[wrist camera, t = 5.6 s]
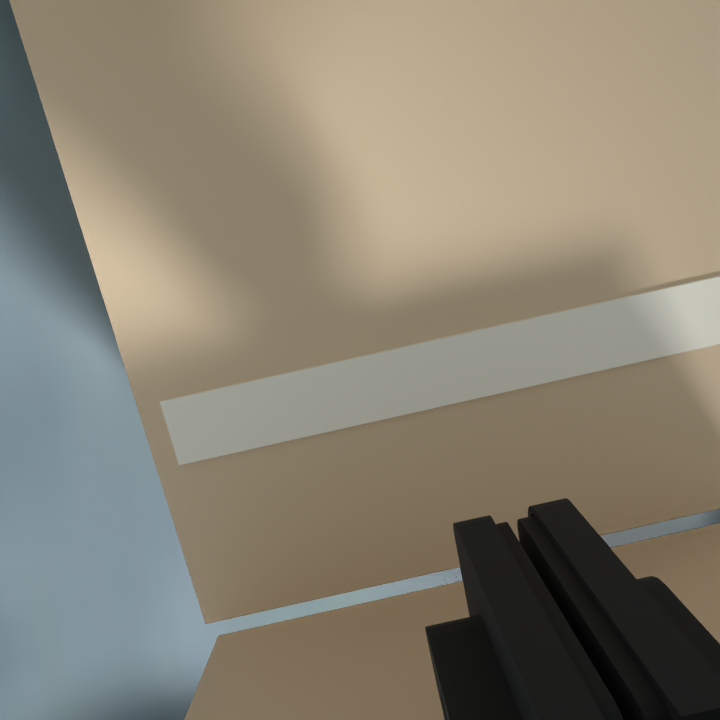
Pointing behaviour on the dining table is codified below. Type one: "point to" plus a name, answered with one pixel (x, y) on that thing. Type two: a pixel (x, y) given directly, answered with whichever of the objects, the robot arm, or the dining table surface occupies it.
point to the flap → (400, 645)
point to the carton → (397, 266)
